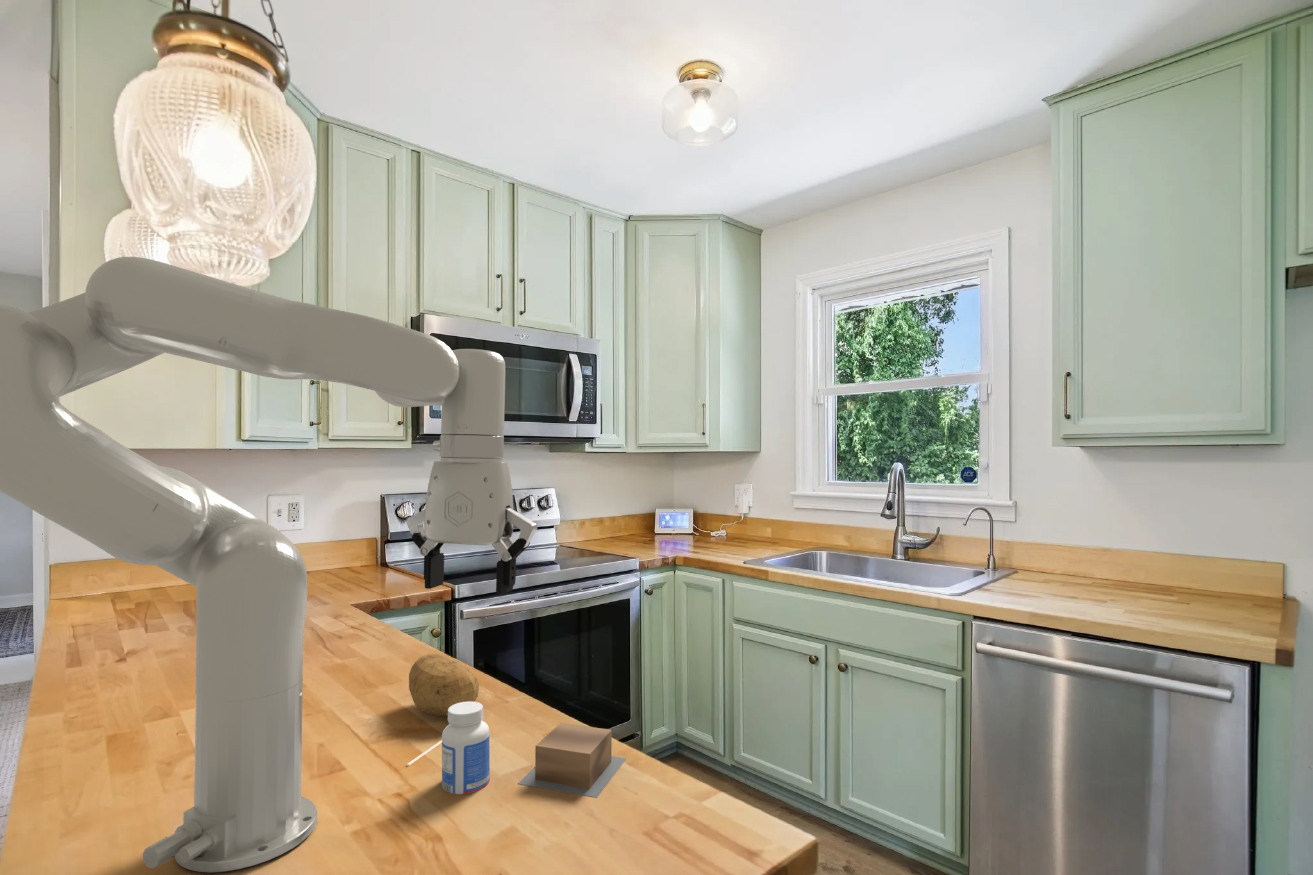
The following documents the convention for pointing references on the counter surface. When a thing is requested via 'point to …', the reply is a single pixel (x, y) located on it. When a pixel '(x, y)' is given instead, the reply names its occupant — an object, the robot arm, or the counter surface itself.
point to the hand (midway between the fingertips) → (468, 589)
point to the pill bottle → (465, 749)
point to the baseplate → (592, 792)
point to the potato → (441, 683)
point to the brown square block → (573, 755)
